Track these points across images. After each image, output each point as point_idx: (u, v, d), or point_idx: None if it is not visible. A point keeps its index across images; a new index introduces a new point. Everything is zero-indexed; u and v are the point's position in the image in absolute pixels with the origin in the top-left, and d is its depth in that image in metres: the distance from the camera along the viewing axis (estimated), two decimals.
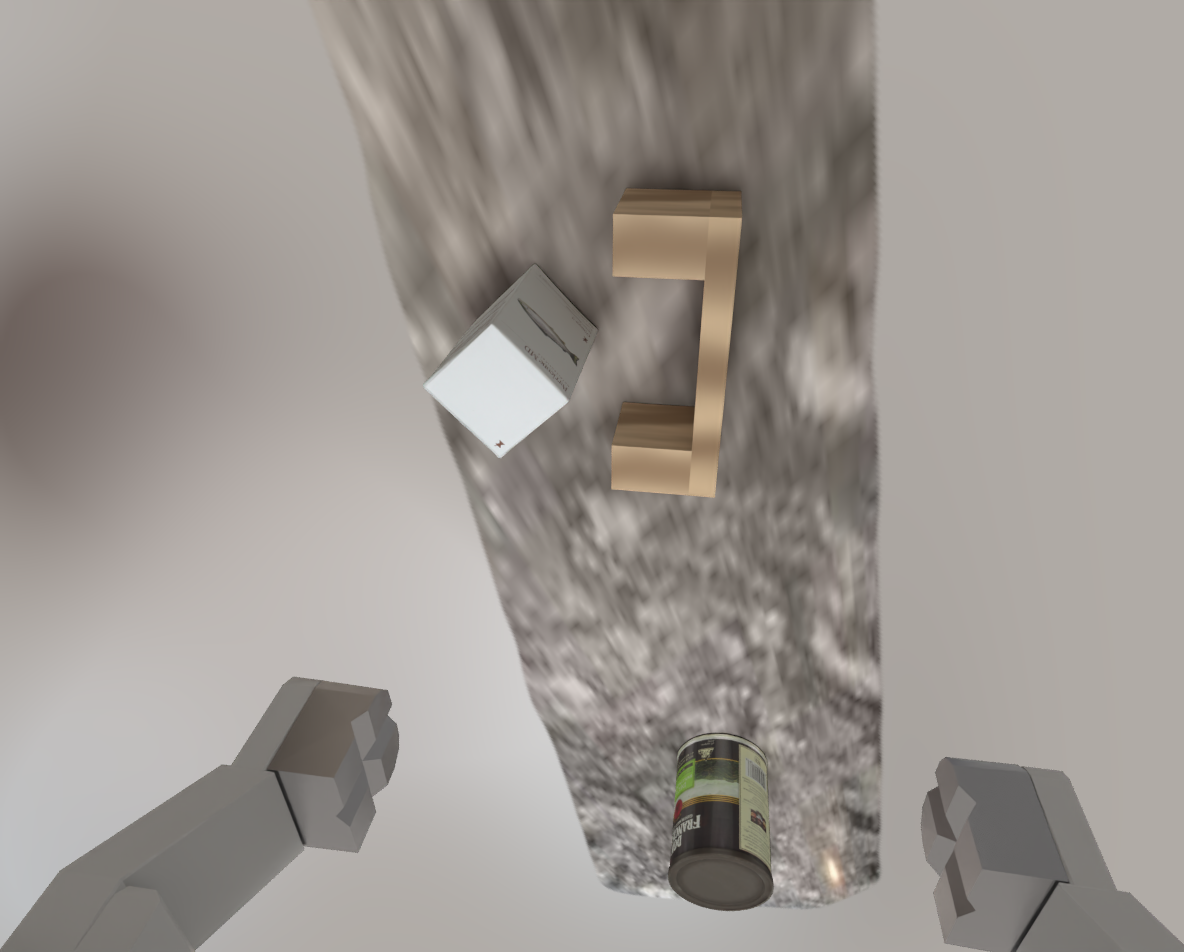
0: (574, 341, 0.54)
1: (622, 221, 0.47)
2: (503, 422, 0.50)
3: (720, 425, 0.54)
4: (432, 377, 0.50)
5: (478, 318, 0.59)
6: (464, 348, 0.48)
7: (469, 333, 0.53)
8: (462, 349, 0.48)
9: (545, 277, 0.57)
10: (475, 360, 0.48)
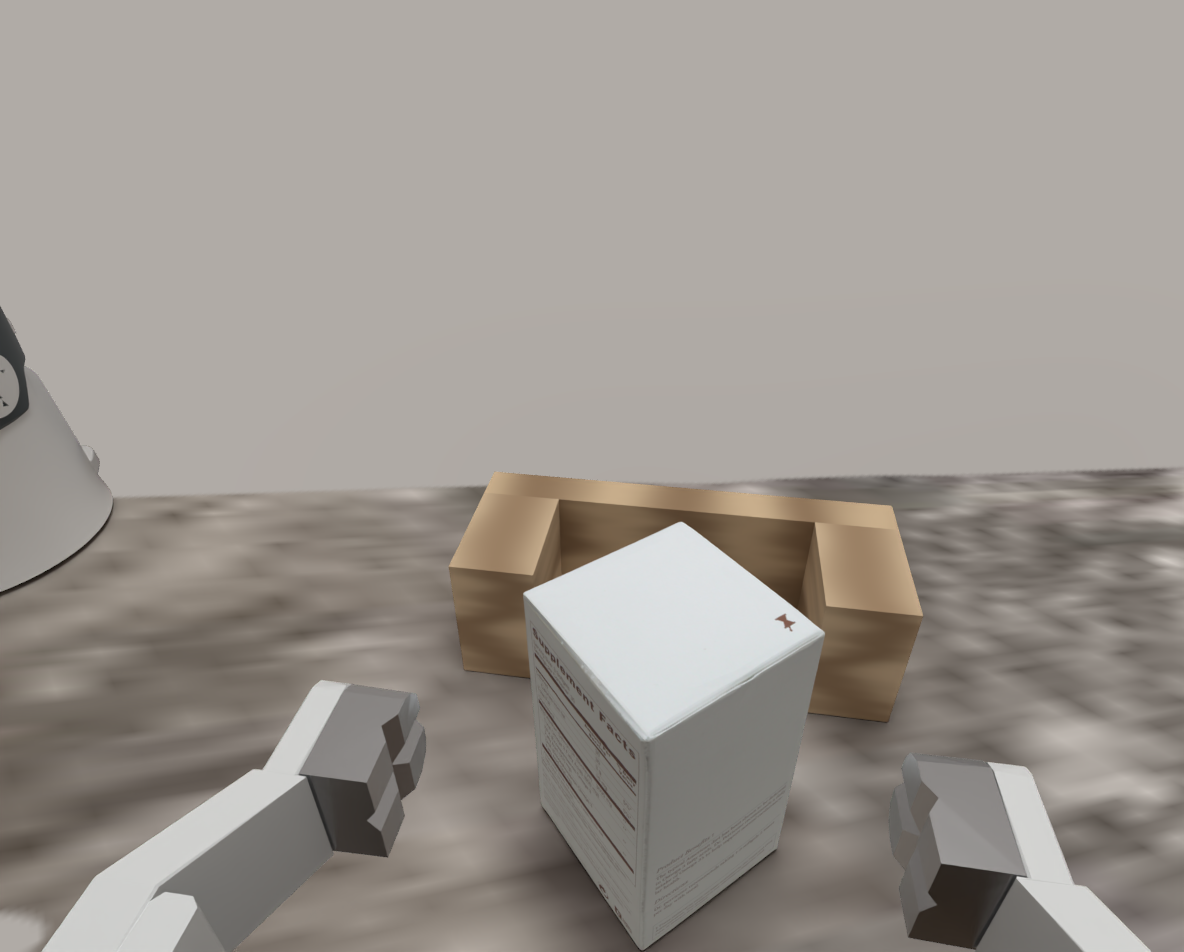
0: None
1: (461, 559, 0.35)
2: (729, 605, 0.25)
3: (765, 496, 0.39)
4: (624, 715, 0.21)
5: (622, 907, 0.27)
6: (564, 643, 0.24)
7: (595, 784, 0.25)
8: (567, 650, 0.24)
9: None
10: (589, 625, 0.24)
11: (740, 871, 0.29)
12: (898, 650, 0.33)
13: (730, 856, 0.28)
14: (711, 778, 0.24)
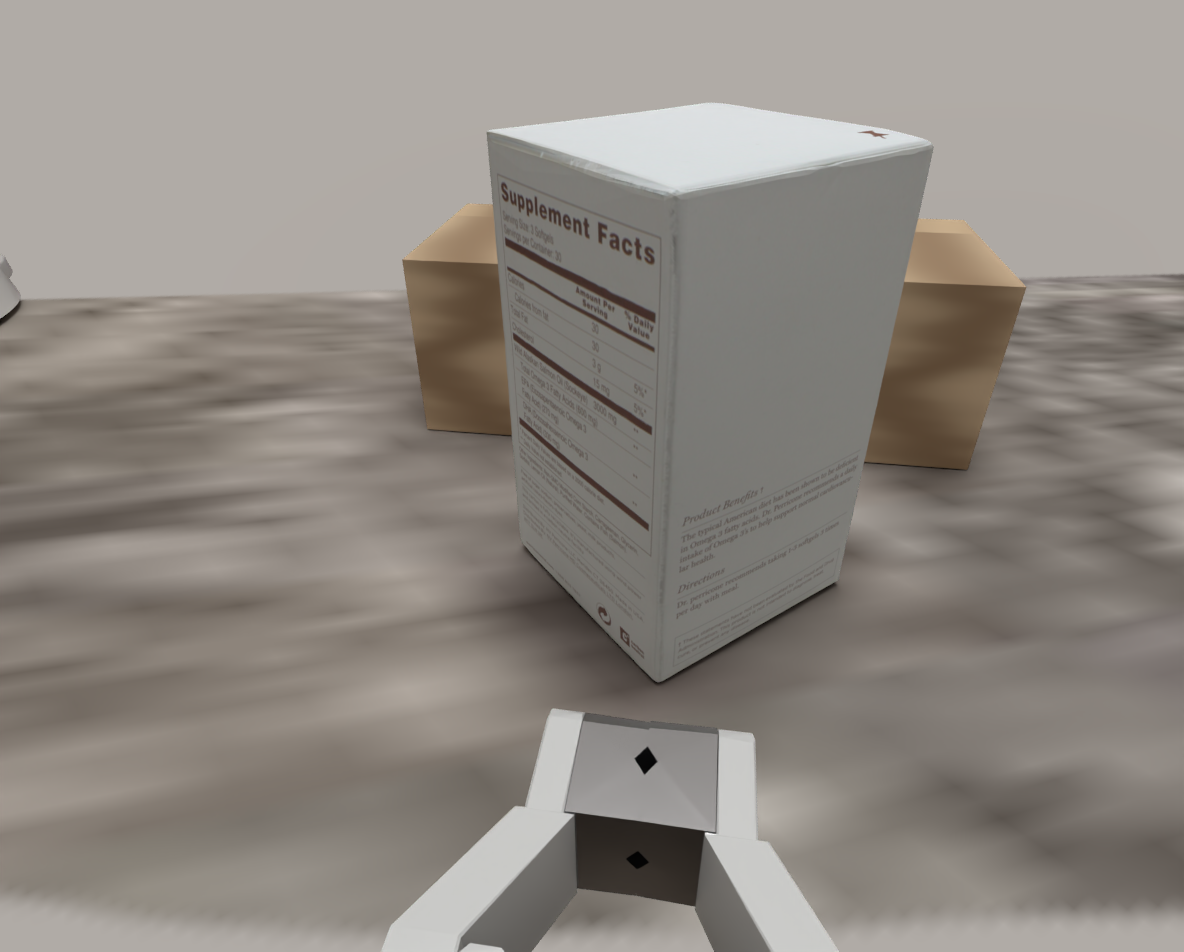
0: None
1: (419, 255, 0.27)
2: (788, 127, 0.17)
3: None
4: (637, 182, 0.13)
5: (631, 619, 0.19)
6: (544, 153, 0.16)
7: (592, 404, 0.17)
8: (549, 160, 0.16)
9: None
10: (582, 138, 0.16)
11: (792, 594, 0.21)
12: (988, 348, 0.25)
13: (782, 554, 0.20)
14: (765, 357, 0.16)
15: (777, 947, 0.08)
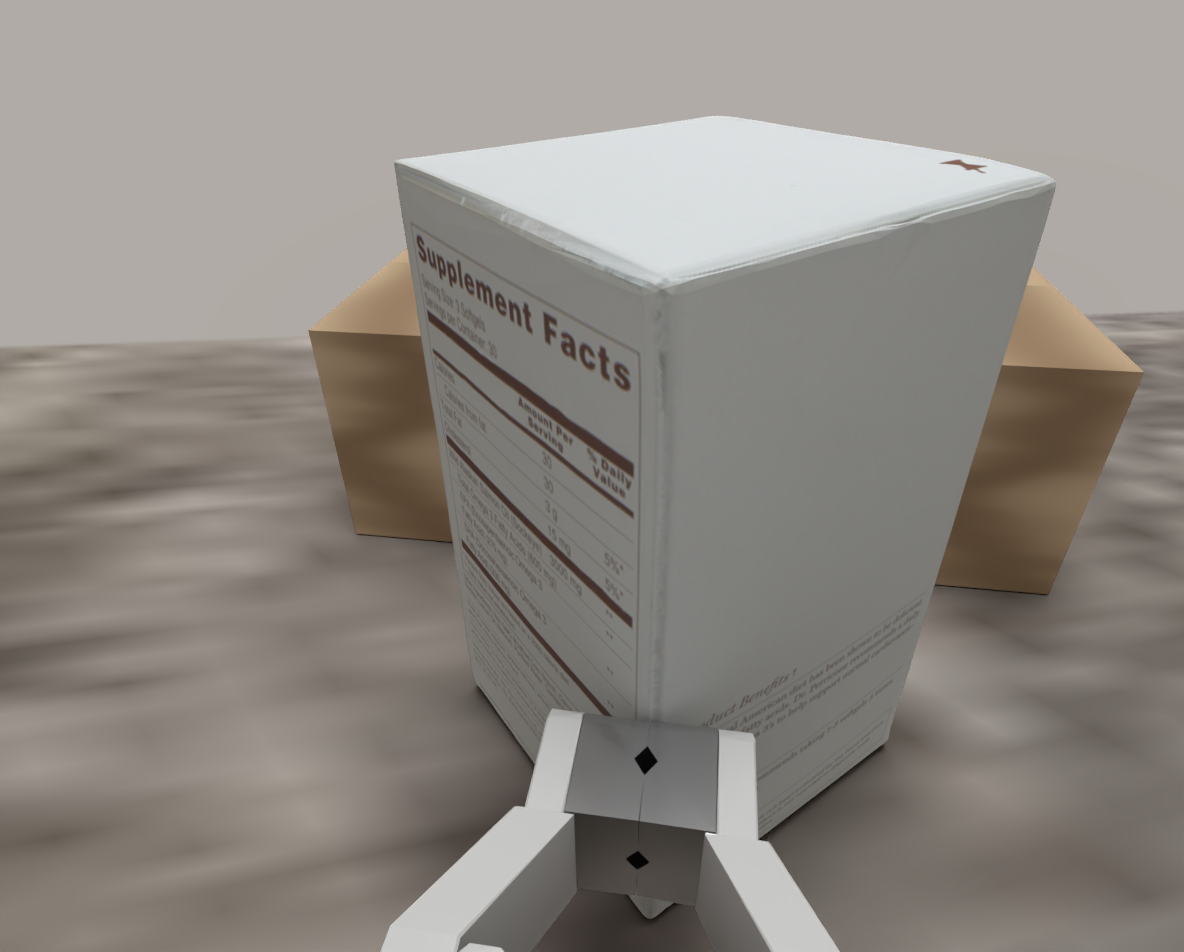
0: None
1: (333, 322, 0.21)
2: (833, 155, 0.11)
3: None
4: (600, 258, 0.08)
5: None
6: (467, 199, 0.10)
7: (548, 557, 0.12)
8: (472, 210, 0.10)
9: None
10: (526, 173, 0.11)
11: (829, 775, 0.16)
12: (1086, 449, 0.19)
13: (818, 736, 0.14)
14: (805, 507, 0.10)
15: (778, 947, 0.08)
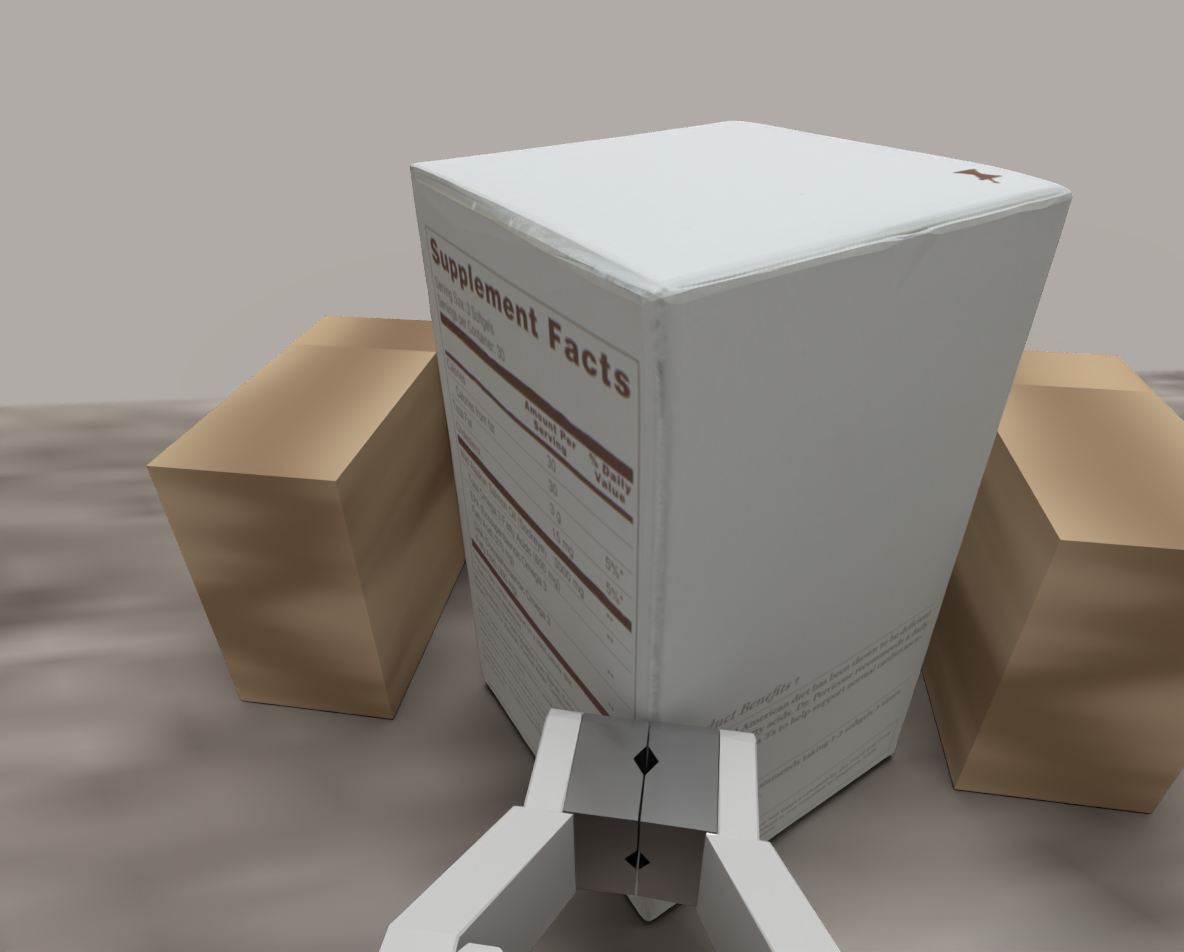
0: None
1: (184, 451, 0.15)
2: (846, 162, 0.11)
3: None
4: (601, 266, 0.08)
5: None
6: (477, 204, 0.10)
7: (552, 559, 0.12)
8: (482, 215, 0.10)
9: None
10: (537, 179, 0.11)
11: (833, 784, 0.16)
12: None
13: (822, 745, 0.14)
14: (808, 517, 0.10)
15: (779, 947, 0.08)
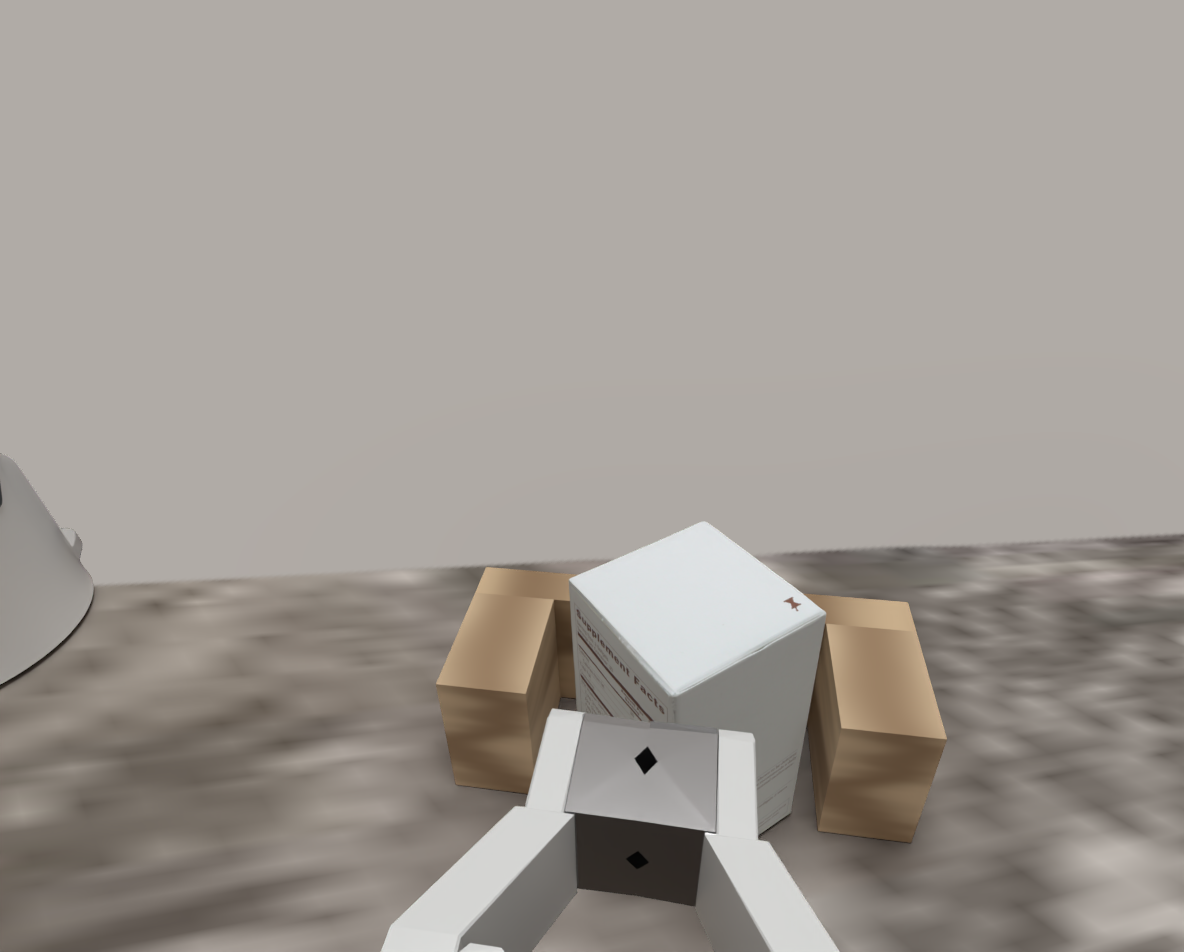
0: None
1: (450, 674, 0.33)
2: (744, 590, 0.29)
3: None
4: (655, 676, 0.26)
5: None
6: (604, 620, 0.28)
7: None
8: (606, 625, 0.28)
9: None
10: (625, 605, 0.28)
11: None
12: (920, 772, 0.31)
13: None
14: None
15: (777, 947, 0.08)
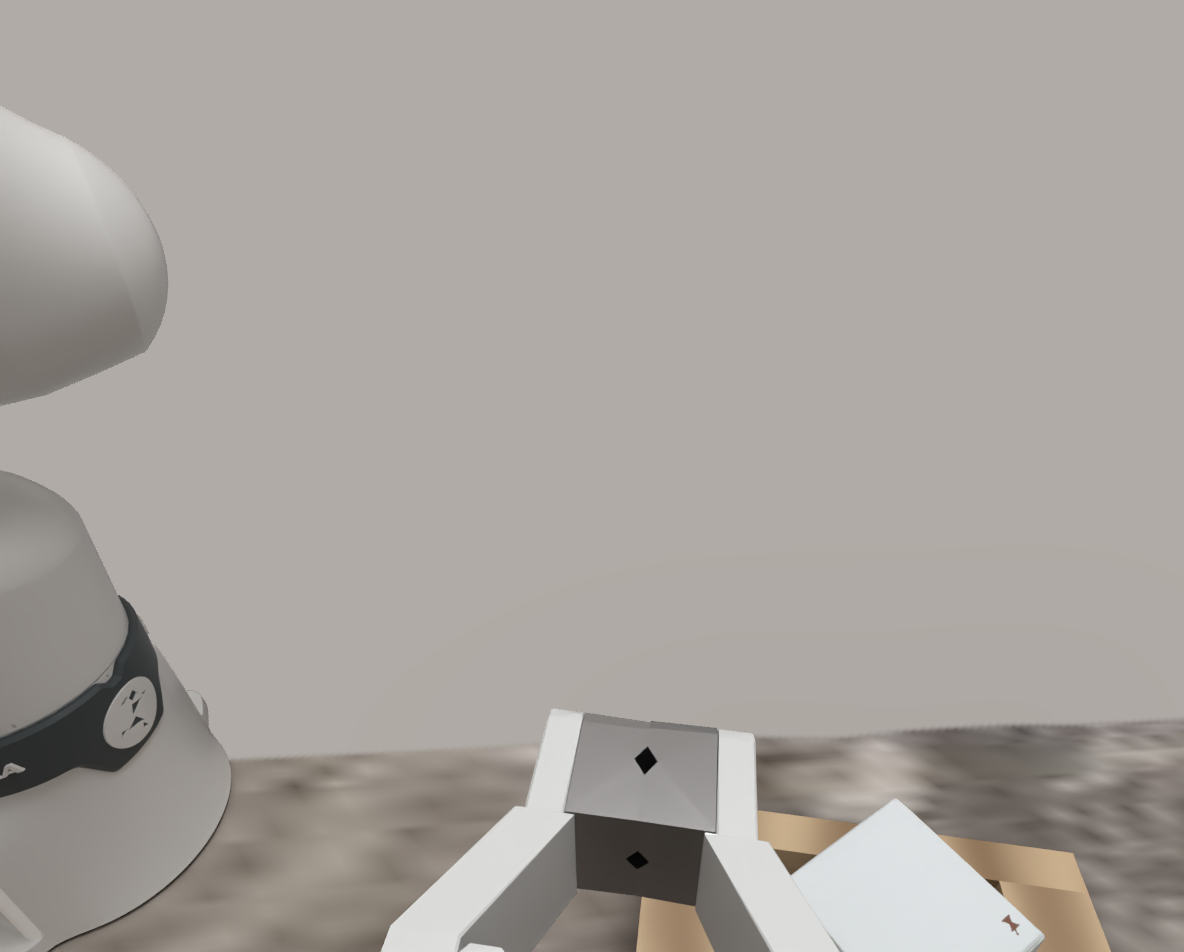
0: None
1: (646, 943, 0.34)
2: (960, 904, 0.30)
3: (939, 836, 0.38)
4: None
5: None
6: (832, 940, 0.29)
7: None
8: None
9: None
10: (849, 922, 0.30)
11: None
12: None
13: None
14: None
15: (777, 947, 0.08)
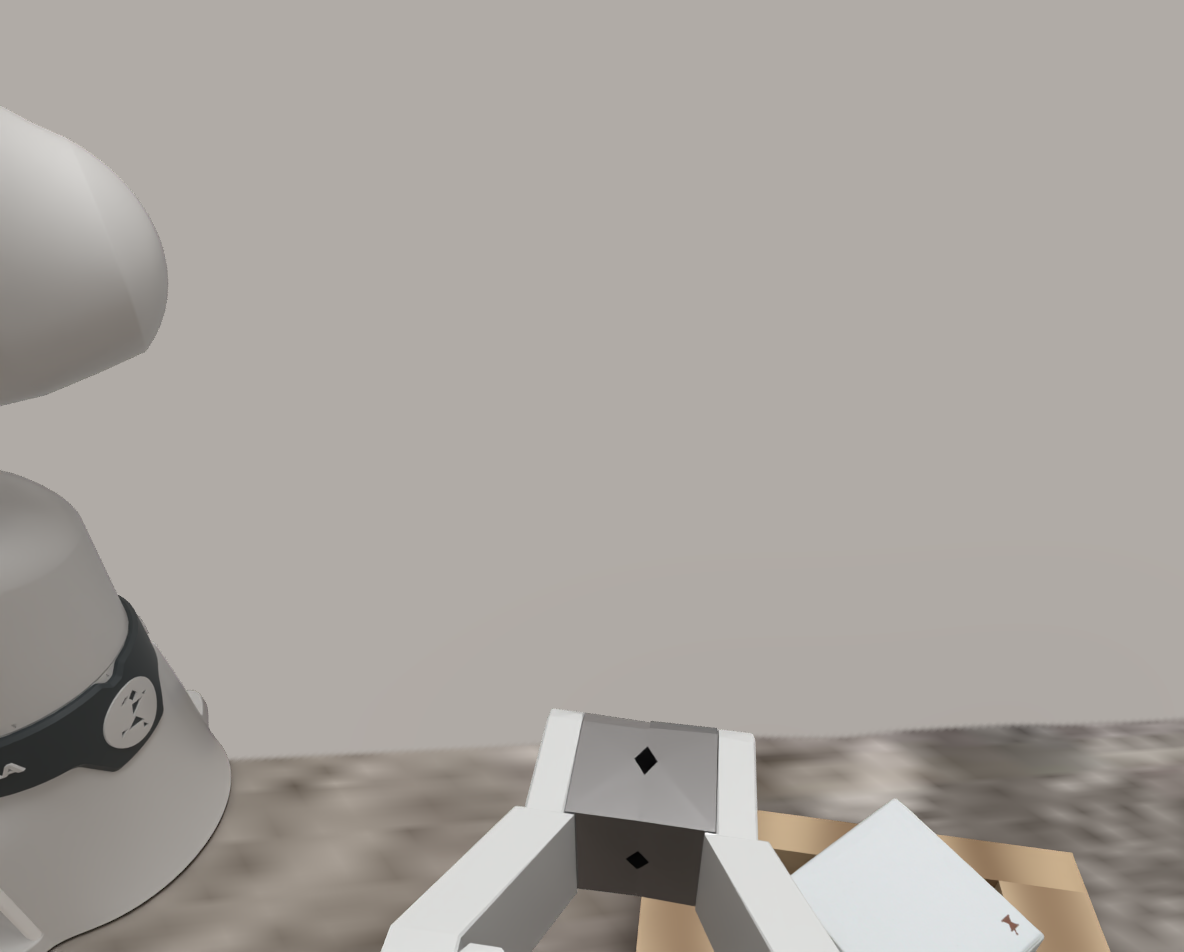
0: None
1: (646, 943, 0.34)
2: (960, 903, 0.30)
3: (938, 836, 0.38)
4: None
5: None
6: None
7: None
8: None
9: None
10: (849, 922, 0.30)
11: None
12: None
13: None
14: None
15: (777, 947, 0.08)
